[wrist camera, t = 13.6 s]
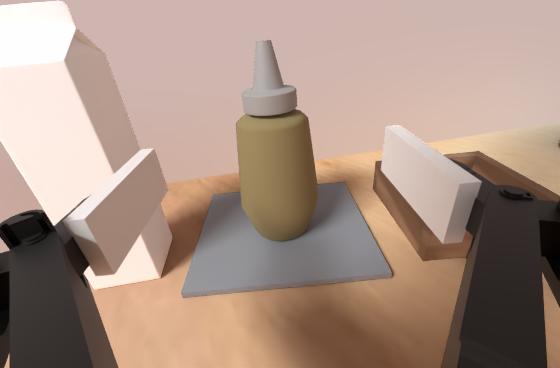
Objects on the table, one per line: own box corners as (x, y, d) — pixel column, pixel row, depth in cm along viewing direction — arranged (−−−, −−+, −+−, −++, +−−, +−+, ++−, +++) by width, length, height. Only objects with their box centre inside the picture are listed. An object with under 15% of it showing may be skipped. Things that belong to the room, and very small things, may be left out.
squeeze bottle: (251, 205, 33) (224, 43, 25) (316, 202, 33) (312, 35, 24) (239, 251, 26) (196, 49, 18) (322, 249, 26) (320, 37, 17)
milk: (161, 279, 25) (35, -7, 14) (93, 291, 25) (-92, 2, 14) (173, 237, 30) (89, 4, 19) (118, 245, 30) (-2, 11, 19)
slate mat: (343, 185, 37) (344, 181, 37) (391, 277, 23) (392, 272, 23) (214, 198, 37) (213, 194, 37) (182, 297, 23) (180, 293, 23)
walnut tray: (470, 179, 36) (478, 151, 34) (565, 247, 24) (586, 211, 22) (373, 188, 36) (375, 161, 34) (422, 260, 24) (431, 225, 22)
